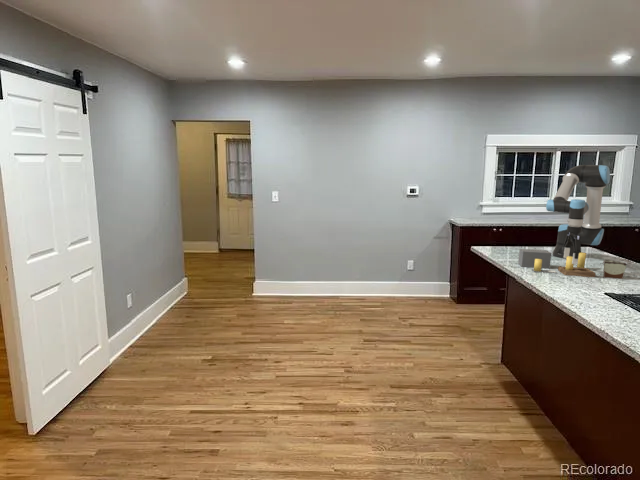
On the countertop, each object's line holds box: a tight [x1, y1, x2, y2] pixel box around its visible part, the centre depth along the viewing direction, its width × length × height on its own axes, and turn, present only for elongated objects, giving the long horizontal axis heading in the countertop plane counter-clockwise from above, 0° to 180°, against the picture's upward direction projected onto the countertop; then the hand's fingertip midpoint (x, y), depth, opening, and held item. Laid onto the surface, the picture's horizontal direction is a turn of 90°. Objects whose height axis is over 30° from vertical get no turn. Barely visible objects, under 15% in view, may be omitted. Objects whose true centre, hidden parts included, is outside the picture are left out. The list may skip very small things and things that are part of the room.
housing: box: [517, 248, 553, 270], centre depth 269 cm, size 8×16×10 cm, turn 79°
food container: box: [602, 258, 629, 280], centre depth 246 cm, size 12×6×10 cm, turn 71°
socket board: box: [557, 266, 596, 278], centre depth 253 cm, size 12×16×2 cm
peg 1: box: [564, 256, 575, 270], centre depth 253 cm, size 4×4×10 cm
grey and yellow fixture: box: [531, 259, 558, 274], centre depth 256 cm, size 5×13×7 cm, turn 79°
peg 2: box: [576, 251, 587, 268], centre depth 265 cm, size 4×4×10 cm
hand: (570, 261), depth 253 cm, fingers open, 13 cm apart
